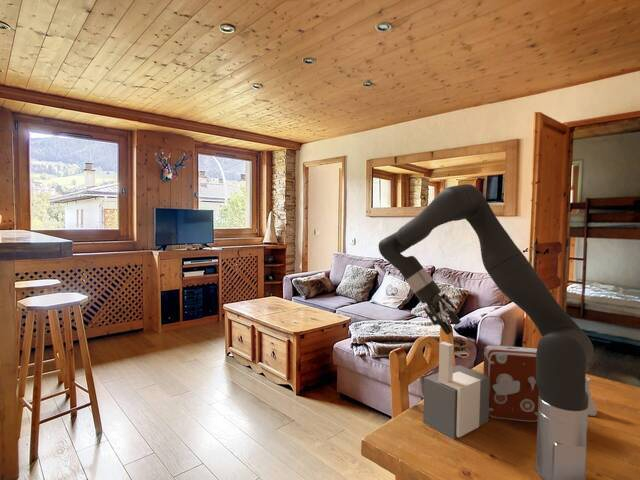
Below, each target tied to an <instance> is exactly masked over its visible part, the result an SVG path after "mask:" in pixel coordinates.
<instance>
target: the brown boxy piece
mask: <svg viewBox="0 0 640 480" xmlns="http://www.w3.org/2000/svg"><path fill="white" fill-rule="evenodd" d="M536 353H537V348H533V347H524V346H522V347H521V346H508V345H497V344H496V345H495V344H494V345H493V344H492V345H491V344H489V345H487V346H485V347H484V352H483V373H482V374H484V375H487V376H489V377H490V382H489V414H488V417H491V418H494V419H500V420H501V419H502V420H510V421H521V422H530V423H531V422H533V423H534V422H538V400H539V389H538V386H537V382H536Z"/></svg>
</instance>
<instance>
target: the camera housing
mask: <svg viewBox="0 0 640 480" xmlns="http://www.w3.org/2000/svg"><path fill="white" fill-rule="evenodd" d="M458 371H459V372H461V373H464V374H467V375H469V376H472V377H474V378H477V379H479V380H480V412H479V427H480V426H482V425H484V424H485V423H487V422H489V415H488V414H489V382H490V377H489V376H487V375H484V374H483V373H480V372H478V371H475V370H473V369H470V368H467V367H465V366H462V365H459V364H458V365H455V366H453V373H456V372H458ZM438 379H439V371H438V372H436V373H433V374H431V375H428V376H425V377H423V409H422V410H423V411H422V412H423V414H422V415H423V416H422V417H423V418H422V419H423V421H422V422H423V423H424V424H425V425H427V426H429V427H430V428H432V429H434V430H435V431H438V432H440V433H441V434H442V435H445V436H446V437H448V438H450V439H451V440H453V441H454V440H456V439H457V438H459V437H457V436H456V427H457V390H456V389H454V388H451V387H449V386H447V385H445V384H442V383H440V382H438Z"/></svg>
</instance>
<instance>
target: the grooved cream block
mask: <svg viewBox="0 0 640 480" xmlns="http://www.w3.org/2000/svg"><path fill="white" fill-rule="evenodd" d="M438 347H439V349H438V350H439V351H438V353H439V354H438V361H439V362H438V372H439V379H438V382H440V383H442V384H445V385H447V386H449V387H451V388H454V389H456V390H457V427H456V436H457V437H458V438H461V437H463V436H465V435H467V434H468V433H470V432H472V431H474V430H476V429H478V428H479V427H480V426H479V412H480V380H479V379H477V378H474V377H472V376H469V375H467V374H464V373H461V372H459V371H458V372H456V373H453V367H454V350H455V349H454V344H452V343H449V342H446V341H442V342H439V346H438Z"/></svg>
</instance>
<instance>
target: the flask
mask: <svg viewBox="0 0 640 480" xmlns="http://www.w3.org/2000/svg"><path fill="white" fill-rule="evenodd" d="M590 382H591V378H589V377H587V376H586V379H585V391H586V392H587V394H588V417H589V416H590V417H591V416H592V417H596V416H597V414H598V409H597V407H596V405H595V402H594V398H593V397H592V394H591V390H590Z"/></svg>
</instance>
